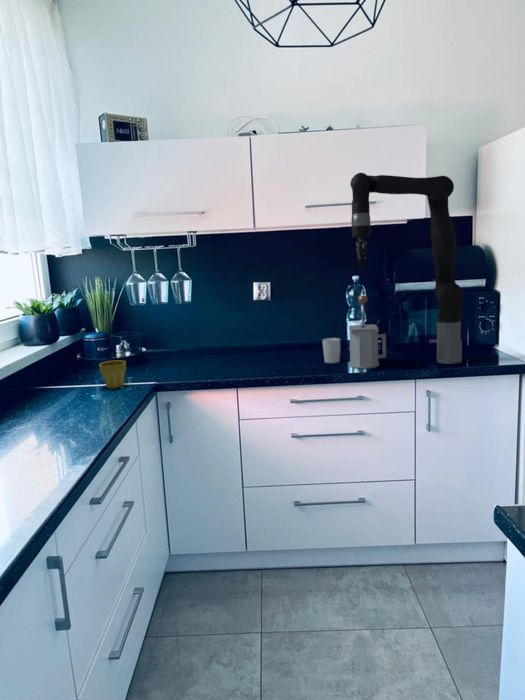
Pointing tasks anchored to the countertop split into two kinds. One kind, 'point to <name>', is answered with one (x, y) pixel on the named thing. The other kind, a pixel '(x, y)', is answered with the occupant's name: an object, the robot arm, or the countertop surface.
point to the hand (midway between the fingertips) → (361, 267)
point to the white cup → (331, 350)
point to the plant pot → (113, 373)
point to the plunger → (361, 300)
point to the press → (365, 346)
